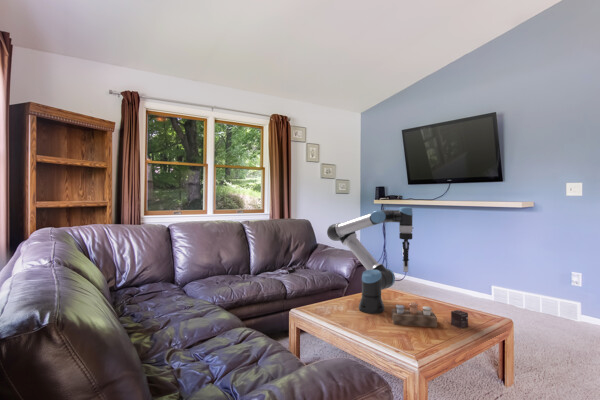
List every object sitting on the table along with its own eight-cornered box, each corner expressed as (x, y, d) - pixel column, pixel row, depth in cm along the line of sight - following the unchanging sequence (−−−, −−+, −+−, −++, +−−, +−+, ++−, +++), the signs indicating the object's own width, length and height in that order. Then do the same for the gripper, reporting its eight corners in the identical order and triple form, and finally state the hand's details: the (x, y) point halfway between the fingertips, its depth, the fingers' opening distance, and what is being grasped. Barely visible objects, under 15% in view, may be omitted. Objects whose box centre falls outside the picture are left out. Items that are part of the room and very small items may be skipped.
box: (460, 328, 172) (460, 314, 173) (450, 324, 178) (450, 311, 178) (468, 326, 175) (468, 312, 175) (458, 323, 181) (458, 309, 181)
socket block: (393, 324, 178) (393, 315, 178) (391, 317, 189) (391, 308, 189) (436, 327, 174) (436, 317, 174) (432, 320, 185) (432, 311, 185)
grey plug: (396, 320, 181) (396, 307, 181) (395, 318, 185) (395, 304, 185) (405, 321, 180) (405, 307, 180) (403, 318, 184) (404, 305, 185)
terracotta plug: (409, 318, 180) (409, 304, 180) (408, 316, 184) (408, 302, 184) (418, 319, 179) (418, 305, 179) (417, 316, 183) (417, 302, 183)
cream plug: (423, 322, 178) (423, 308, 178) (421, 319, 183) (421, 306, 183) (432, 323, 177) (432, 309, 177) (430, 320, 182) (430, 306, 182)
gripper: (413, 233, 194) (413, 274, 194) (411, 231, 207) (411, 269, 207) (399, 233, 196) (399, 273, 196) (399, 231, 209) (398, 269, 208)
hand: (405, 271), depth 201 cm, fingers closed
